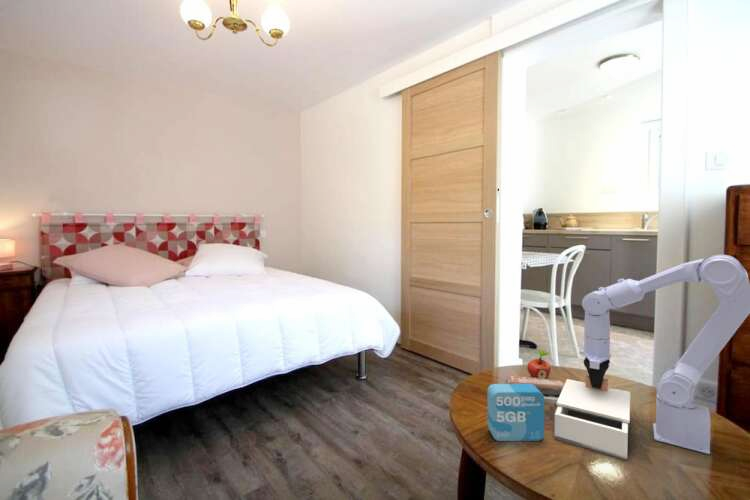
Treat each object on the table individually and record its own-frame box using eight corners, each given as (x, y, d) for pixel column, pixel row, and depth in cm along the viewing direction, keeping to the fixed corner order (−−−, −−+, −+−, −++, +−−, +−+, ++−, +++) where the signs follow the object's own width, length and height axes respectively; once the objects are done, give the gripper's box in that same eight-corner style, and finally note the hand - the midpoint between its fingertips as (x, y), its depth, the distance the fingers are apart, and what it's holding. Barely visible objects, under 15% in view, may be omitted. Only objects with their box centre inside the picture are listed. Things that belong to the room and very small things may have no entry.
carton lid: (630, 394, 91) (630, 381, 91) (629, 423, 78) (629, 408, 77) (567, 381, 100) (567, 369, 99) (556, 404, 86) (556, 391, 86)
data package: (492, 441, 83) (492, 392, 82) (487, 430, 87) (487, 383, 86) (544, 441, 82) (544, 391, 81) (536, 430, 87) (536, 383, 86)
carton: (628, 426, 87) (628, 402, 87) (627, 460, 75) (627, 433, 74) (565, 410, 96) (565, 388, 95) (554, 438, 83) (554, 414, 83)
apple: (549, 387, 109) (549, 356, 109) (525, 383, 113) (525, 352, 112) (551, 378, 116) (551, 349, 115) (529, 374, 120) (529, 346, 119)
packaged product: (507, 384, 103) (505, 371, 112) (507, 400, 103) (505, 385, 113) (575, 390, 98) (567, 376, 107) (575, 407, 98) (567, 391, 107)
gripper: (582, 327, 101) (582, 373, 101) (576, 341, 89) (575, 393, 90) (612, 331, 97) (611, 379, 97) (609, 346, 85) (608, 400, 86)
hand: (596, 386), depth 93 cm, fingers closed on carton lid
